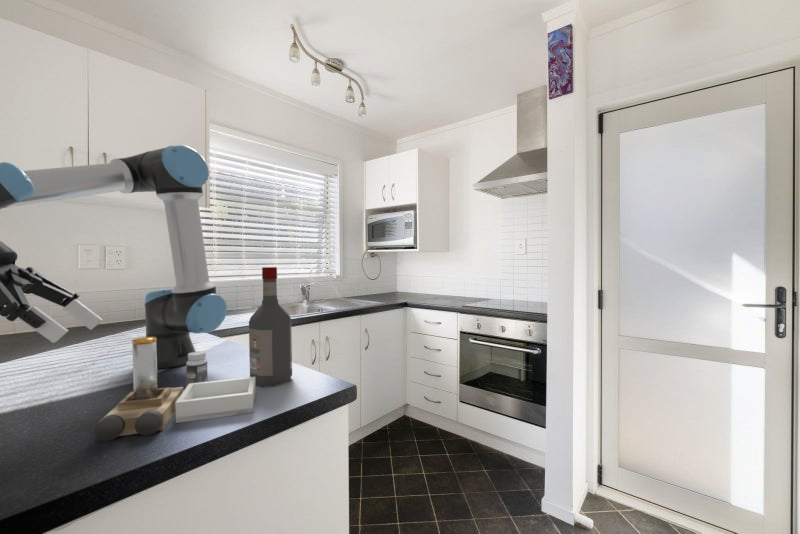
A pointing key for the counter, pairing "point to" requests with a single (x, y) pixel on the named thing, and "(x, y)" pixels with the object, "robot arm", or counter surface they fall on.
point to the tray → (216, 399)
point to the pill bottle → (196, 368)
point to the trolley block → (139, 415)
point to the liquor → (270, 336)
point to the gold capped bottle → (145, 368)
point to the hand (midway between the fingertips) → (80, 330)
